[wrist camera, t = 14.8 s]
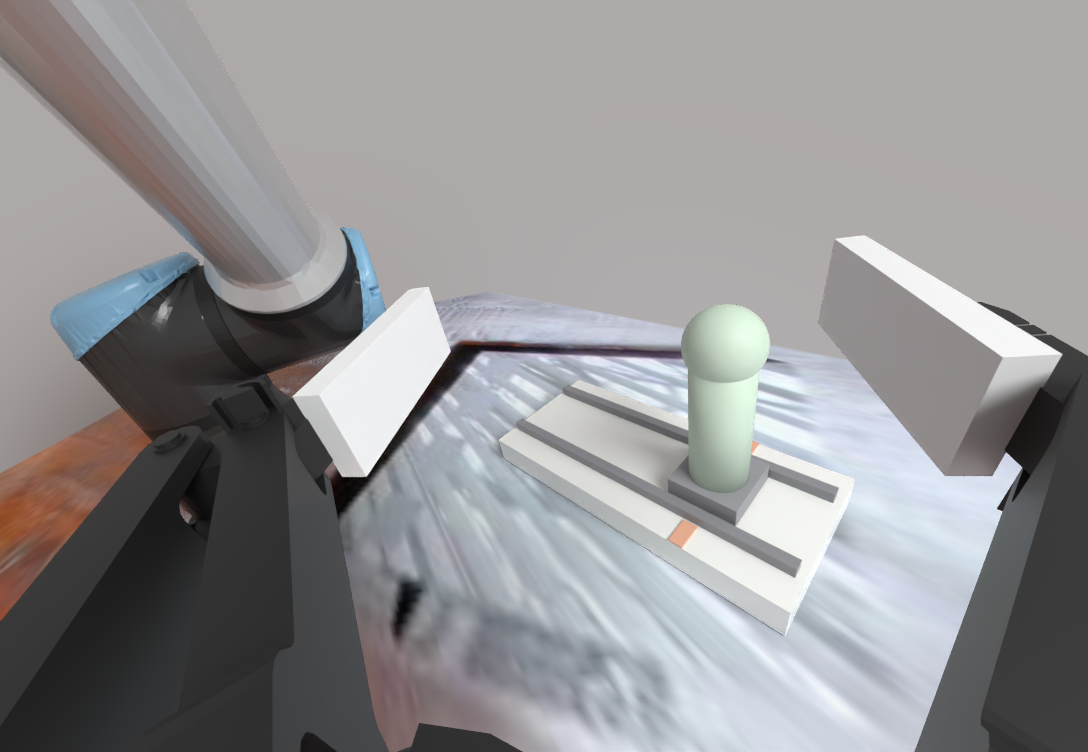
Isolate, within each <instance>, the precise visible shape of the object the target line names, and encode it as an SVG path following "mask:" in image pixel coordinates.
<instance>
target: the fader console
mask: <svg viewBox="0 0 1088 752" xmlns="http://www.w3.org/2000/svg"><path fill="white" fill-rule="evenodd" d="M563 391H564V392H562V393H561V394H560V395H558V396H557V397H556V398H554V399H553V400H552V401H550V402H549V403H547V404H546V405H545V406H543V407H542V408H541V409H539V410H538V411H537V412H535V413H534V414H533V415H531V416H530V417H529V418H527V419H526V420H524V419H521V420H520V421H519V422H517V427H515V428H514V429H513V430H511V431H510V432H508V433H507V434H506V435H504V436H503V437H502V438H500V439H499V443H500V446H501V450H502V453H503V456H504V459H506V460H507V461H509V462H510V463H512V464H513V465H515V466H517V467H518V468H520V469H521V470H523V471H524V472H526V473H528V474H529V475H531V476H532V477H534V478H536V479H537V480H539V481H540V482H542V483H543V484H545V485H547V486H548V487H550V488H551V489H553V490H555V491H556V492H558V493H559V494H561V495H562V496H564V497H566V498H567V499H569V500H570V501H572V502H573V503H575V504H577V505H578V506H580V507H581V508H583V509H585V510H586V511H588V512H589V513H591V514H592V515H594V516H596V517H597V518H599V519H600V520H602V521H604V522H605V523H607V524H608V525H610V526H611V527H613V528H615V529H616V530H618V531H619V532H621V533H622V534H624V535H626V536H627V537H629V538H630V539H632V540H634V541H635V542H637V543H638V544H640V545H641V546H643V547H645V548H646V549H648V550H649V551H651V552H653V553H654V554H656V555H657V556H659V557H660V558H662V559H664V560H665V561H667V562H668V563H670V564H671V565H673V566H675V567H676V568H678V569H679V570H681V571H683V572H684V573H686V574H687V575H689V576H690V577H692V578H694V579H695V580H697V581H698V582H700V583H701V584H703V585H705V586H706V587H708V588H709V589H711V590H713V591H714V592H716V593H717V594H719V595H720V596H722V597H724V598H725V599H727V600H728V601H730V602H732V603H733V604H735V605H736V606H738V607H739V608H741V609H743V610H744V611H746V612H747V613H749V614H750V615H752V616H754V617H755V618H757V619H758V620H760V621H762V622H763V623H765V624H766V625H768V626H769V627H771V628H773V629H774V630H776V631H777V632H779V633H781V634H782V635H784V636H785V635H786V633H787V631H788V629H789V627H790V624H791V622H792V620H793V618H794V616H795V614H796V612H797V610H798V608H799V606H800V604H801V601H802V599H803V597H804V595H805V593H806V591H807V589H808V587H809V585H810V583H811V581H812V578H813V576H814V574H815V572H816V570H817V568H818V566H819V564H820V562H821V560H822V557H823V555H824V553H825V551H826V549H827V547H828V545H829V543H830V541H831V539H832V537H833V534H834V532H835V530H836V528H837V526H838V524H839V522H840V520H841V518H842V516H843V514H844V511H845V509H846V507H847V505H848V503H849V499H850V496H851V492H852V489H853V485H854V482H855V479H853V478H850V477H847V476H845V475H842V474H839V473H836V472H834V471H831V470H828V469H825V468H822V467H820V466H817V465H814V464H811V463H808V462H806V461H803V460H800V459H797V458H795V457H792V456H789V455H786V454H783V453H781V452H778V451H775V450H772V449H769V448H767V447H764V446H761V445H759V443H757V442H754V441H752V450H751V457H752V458H755V459H757V460H760V461H762V462H765V463H768V464H769V471H768V479H767V481H766V482H765V484H764V485H763V487H762V488H761V490H760V491H759V492H758V494H757V495H756V497H755V498H754V500H753V501H752V503H751V504H750V506H749V507H748V509H747V510H746V512H745V513H744V515H743V516H742V518H741V519H740V521H739V522H738V524H737V525H736V526H734V525H732V524H730V523H728V522H726V521H724V520H722V519H720V518H718V517H716V516H714V515H712V514H710V513H708V512H706V511H704V510H702V509H700V508H698V507H696V506H694V505H692V504H690V503H688V502H686V501H684V500H682V499H680V498H678V497H676V496H674V495H672V494H670V493H668V478H669V477H670V475H671V474H672V473H673V472H674V471H675V470H676V469H677V468H678V466H679V465H680V464H681V463H682V462H683V461H684V460H685V458H686V457H687V456H688V455H689V445H688V419H686V418H683V417H680V416H678V415H675V414H672V413H669V412H666V411H664V410H661V409H658V408H655V407H653V406H650V405H647V404H644V403H641V402H639V401H636V400H633V399H630V398H627V397H625V396H622V395H619V394H616V393H614V392H611V391H608V390H605V389H602V388H600V387H597V386H594V385H591V384H588V383H586V382H583V381H580V380H578V381H577V382H576V383H574V384H573V385H572V386H569V385H567V386H566V387H565V388H563Z"/></svg>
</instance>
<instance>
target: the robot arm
mask: <svg viewBox="0 0 1088 752" xmlns="http://www.w3.org/2000/svg"><path fill="white" fill-rule="evenodd" d="M0 66H1V67H2V68H3V69H4V70H5V71H6V72H7V73H8V74H9V75H10V76H11V77H13V78H14V79H15V80H16V81H17V82H18V83H19V84H20V85H21V86H22V87H23V88H24V89H25V90H26V91H28V92H29V93H30V94H31V95H32V96H33V97H34V98H35V99H36V100H37V101H38V102H40V104H42V106H44V107H45V108H46V109H47V110H48V111H49V112H50V113H51V114H52V115H53V116H54V117H55V118H56V119H57V120H58V121H60V122H61V123H62V124H63V125H64V126H65V127H66V128H67V129H68V130H69V131H70V132H71V133H72V134H74V135H75V136H76V137H77V138H78V139H79V140H80V141H81V142H82V143H83V144H84V145H85V146H86V147H87V148H89V149H90V150H91V151H92V152H93V153H94V154H95V155H96V156H97V157H98V158H99V159H100V160H101V161H102V162H103V163H104V164H106V165H107V166H108V167H109V168H110V169H111V170H112V171H113V172H114V173H115V174H116V175H117V176H118V177H119V178H121V179H122V180H123V181H124V182H125V183H126V184H127V185H128V186H129V187H130V188H131V189H132V190H133V191H134V192H135V193H137V194H138V195H139V196H140V197H141V198H142V199H143V200H144V201H145V202H146V203H147V204H148V205H149V206H151V207H152V208H153V209H154V210H155V211H156V212H157V213H158V214H159V215H160V216H161V217H162V218H163V219H164V220H165V221H166V222H168V223H169V224H170V225H171V226H172V227H173V228H174V229H175V230H176V231H177V232H178V233H179V234H180V235H181V236H183V237H184V238H185V239H186V240H187V241H188V242H189V243H190V244H191V245H192V246H193V247H194V248H196V250H198V251H199V252H200V253H201V254H202V255H203V256H204V265H203V266H200V265H199V261H198V259H196V258H194V257H193V256H192V255H191V254H189V253H187V252H182V253H179V254H176V255H174V256H170V257H167V258H164V259H162V260H159V261H156V262H154V263H151V264H149V265H146V266H143V267H141V268H138V269H136V270H133V271H131V272H129V273H126V274H124V275H121V276H119V277H116V278H114V279H111V280H109V281H107V282H104V283H102V284H100V285H97V286H95V287H93V288H90V289H88V290H86V291H83V292H81V293H79V294H76V295H74V296H72V297H70V298H68V299H66V300H64V301H62V302H60V303H59V304H57V305H56V306H55V307H54V309H53V310H52V312H51V315H50V320H51V324H52V326H53V327H54V329H55V330H56V331H57V333H58V334H59V336H60V337H61V338H62V340H63V341H64V342H65V344H66V345H67V346H68V348H69V349H70V351H71V352H72V353H73V357H74V358H75V360H77V361H80V362H81V363H82V364H83V365H84V366H85V367H86V369H87V370H88V371H89V372H90V373H91V374H92V375H93V376H94V377H95V378H96V380H97V381H98V382H99V383H100V384H101V385H102V386H103V387H104V388H105V389H106V391H107V392H108V393H109V394H110V395H111V396H112V397H113V398H114V399H115V400H116V402H117V403H118V404H119V405H120V406H121V407H122V408H123V409H124V410H125V412H126V413H127V414H128V415H129V416H130V417H131V418H132V419H133V420H134V421H135V423H136V424H137V425H138V426H139V427H140V428H141V429H142V430H143V431H144V432H145V433H146V435H147V436H148V437H149V438H150V439H151V440H152V443H150V444H149V445H148V446H147V447H146V448H145V449H144V450H142V451H141V452H140V454H139V455H138V456H137V457H136V459H135V460H134V461H133V462H132V463H131V465H130V466H129V467H128V468H127V469H126V471H125V472H124V473H123V474H122V475H121V477H120V478H119V479H118V480H117V481H116V483H115V484H114V485H113V486H112V487H111V489H110V490H109V491H108V492H107V494H106V495H105V496H104V497H103V498H102V500H101V501H100V502H99V503H98V504H97V506H96V507H95V508H94V509H93V510H92V512H91V513H90V514H89V515H88V516H87V518H86V519H85V520H84V521H83V523H82V524H81V525H80V526H79V527H78V529H77V530H76V531H75V532H74V533H73V535H72V536H71V537H70V538H69V539H68V541H67V542H66V543H65V544H64V545H63V547H62V548H61V549H60V550H59V552H58V553H57V554H56V555H55V556H54V558H53V559H52V560H51V561H50V562H49V564H48V565H47V566H46V567H45V568H44V570H43V571H42V572H41V573H40V574H39V576H38V577H37V578H36V579H35V580H34V582H33V583H32V584H31V585H30V587H29V588H28V589H27V590H26V591H25V593H24V594H23V595H22V596H21V597H20V599H19V600H18V601H17V602H16V603H15V605H14V606H13V607H12V608H11V609H10V611H9V612H8V613H7V614H6V616H5V617H4V618H3V619H2V620H1V622H0V752H389V751H388V748H387V746H386V744H385V742H384V740H383V738H382V736H381V734H380V732H379V730H378V727H377V724H376V721H375V717H374V713H373V708H372V702H371V697H370V692H369V686H368V681H367V675H366V670H365V665H364V659H363V654H362V648H361V643H360V638H359V632H358V627H357V621H356V616H355V610H354V605H353V600H352V594H351V589H350V583H349V578H348V573H347V567H346V562H345V556H344V551H343V545H342V540H341V535H340V529H339V524H338V518H337V513H336V508H335V502H334V497H333V491H332V486H331V481H330V479H329V478H328V476H327V475H326V473H325V472H324V471H325V470H326V468H327V467H328V466H329V465H330V463H331V462H332V461H333V463H334V464H335V466H336V467H337V469H338V471H339V472H340V474H341V475H342V477H367V475H368V474H369V472H370V471H371V469H372V468H373V466H374V465H375V463H376V462H377V460H378V459H379V458H380V456H381V455H382V453H383V452H384V450H385V449H386V447H387V446H388V444H389V443H390V441H391V440H392V438H393V437H394V435H395V434H396V432H397V431H398V429H399V428H400V426H401V425H402V423H403V422H404V420H405V419H406V417H407V416H408V414H409V413H410V411H411V410H412V408H413V407H414V405H415V404H416V402H417V401H418V399H419V398H420V397H421V395H422V394H423V392H424V391H425V389H426V388H427V386H428V385H429V383H430V382H431V380H432V379H433V377H434V376H435V374H436V373H437V371H438V370H439V368H440V367H441V365H442V364H443V362H444V361H445V359H446V358H447V356H448V355H449V353H450V352H451V351H450V348H449V345H448V342H447V339H446V337H445V334H444V331H443V328H442V325H441V322H440V319H439V316H438V313H437V310H436V308H435V305H434V302H433V299H432V296H431V293H430V290H429V287H424V288H415V289H409V290H408V291H407V292H406V293H405V294H404V295H403V296H402V297H401V298H400V299H398V300H397V301H396V302H395V303H394V304H393V305H392V306H391V307H390V308H389V309H387V310H386V309H385V305H384V301H383V298H382V295H381V292H380V290H379V285H378V282H377V278H376V275H375V271H374V268H373V265H372V262H371V259H370V256H369V253H368V250H367V247H366V244H365V242H364V239H363V237H362V235H361V233H360V232H359V230H357V229H354V228H349V229H347V228H344V227H343V228H339V227H338V226H337V224H336V223H335V222H334V220H332V219H331V218H330V217H329V216H328V215H326V214H325V213H323V212H322V211H320V210H318V209H316V208H313V207H310V206H308V205H306V204H305V202H304V201H303V199H302V197H301V196H300V194H299V192H298V191H297V189H296V187H295V186H294V184H293V182H292V180H291V179H290V177H289V175H288V174H287V172H286V170H285V168H284V167H283V165H282V164H281V162H280V160H279V158H278V157H277V155H276V154H275V152H274V150H273V149H272V147H271V145H270V143H269V141H268V140H267V138H266V136H265V135H264V133H263V131H262V129H261V128H260V126H259V125H258V123H257V121H256V119H255V118H254V116H253V115H252V112H251V111H250V109H249V107H248V106H247V104H246V102H245V101H244V99H243V97H242V96H241V94H240V92H239V90H238V89H237V87H236V85H235V84H234V82H233V80H232V79H231V77H230V75H229V74H228V72H227V70H226V68H225V67H224V65H223V63H222V62H221V60H220V58H219V56H218V55H217V53H216V52H215V50H214V48H213V46H212V45H211V43H210V41H209V40H208V38H207V36H206V35H205V33H204V31H203V29H202V28H201V26H200V24H199V23H198V21H197V19H196V17H195V16H194V14H193V12H192V11H191V9H190V7H189V6H188V4H187V2H186V1H185V0H0ZM818 324H819V325H820V326H821V327H822V329H823V330H824V331H825V332H826V333H827V335H828V336H829V337H830V338H831V339H832V341H833V342H834V343H835V344H836V345H837V347H838V348H839V349H840V350H841V351H842V353H843V354H844V355H845V356H846V357H847V359H848V360H849V361H850V362H851V364H852V365H853V366H854V367H855V368H856V370H857V371H858V372H859V373H860V374H861V376H862V377H863V378H864V379H865V380H866V382H867V383H868V384H869V385H870V386H871V388H872V389H873V390H874V391H875V392H876V394H877V395H878V396H879V397H880V398H881V400H882V401H883V402H884V403H885V404H886V406H887V407H888V408H889V409H890V410H891V412H892V413H893V414H894V415H895V416H896V418H897V419H898V420H899V421H900V423H901V424H902V425H903V426H904V427H905V429H906V430H907V431H908V432H909V433H910V435H911V436H912V437H913V438H914V439H915V441H916V442H917V443H918V444H919V445H920V447H921V448H922V449H923V450H924V451H925V453H926V454H927V455H928V456H929V457H930V459H931V460H932V461H933V462H934V463H935V465H936V466H937V467H938V468H939V469H940V471H941V472H942V473H943V474H944V475H945V476H992V475H993V474H994V472H995V470H996V468H997V467H998V465H999V463H1000V462H1001V460H1002V458H1003V456H1004V455H1005V453H1006V452H1007V453H1008V454H1009V455H1010V456H1011V457H1012V458H1013V459H1014V460H1015V461H1016V462H1017V463H1018V464H1019V465H1020V466H1022V467H1023V468H1022V469H1021V471H1020V473H1019V474H1018V476H1017V477H1016V479H1015V481H1014V482H1013V484H1012V485H1011V487H1010V489H1009V490H1008V492H1007V493H1006V495H1005V497H1004V498H1003V500H1002V501H1001V503H1000V505H999V506H998V508H997V509H998V510H1001V511H1003V512H1002V515H1001V518H1000V521H999V523H998V526H997V529H996V531H995V534H994V537H993V540H992V542H991V545H990V548H989V551H988V553H987V556H986V559H985V561H984V564H983V567H982V570H981V572H980V575H979V578H978V581H977V583H976V586H975V589H974V591H973V594H972V597H971V600H970V602H969V605H968V608H967V610H966V613H965V616H964V619H963V621H962V624H961V627H960V630H959V632H958V635H957V638H956V640H955V643H954V646H953V649H952V651H951V654H950V657H949V660H948V662H947V665H946V668H945V670H944V673H943V676H942V679H941V681H940V684H939V687H938V689H937V692H936V695H935V698H934V700H933V703H932V706H931V709H930V711H929V714H928V717H927V719H926V722H925V725H924V728H923V730H922V733H921V736H920V739H919V741H918V744H917V747H916V749H915V752H1088V356H1087V355H1085V354H1083V353H1082V352H1080V351H1078V350H1076V349H1075V348H1073V347H1071V346H1069V345H1068V344H1066V343H1064V342H1062V341H1061V340H1059V339H1057V338H1056V337H1054V336H1052V335H1046V332H1045V331H1043V330H1041V329H1040V328H1038V327H1036V326H1035V325H1029V322H1028V321H1026V320H1024V319H1022V318H1021V317H1019V316H1017V315H1015V314H1014V313H1012V312H1010V311H1008V310H1004V309H1001V308H998V307H995V306H992V305H988V304H985V303H982V302H974V301H973V300H972V299H970V298H968V297H966V296H965V295H963V294H961V293H960V292H958V291H957V290H955V289H953V288H951V287H950V286H948V285H947V284H945V283H943V282H941V281H940V280H938V279H936V278H935V277H933V276H932V275H930V274H928V273H927V272H925V271H923V270H922V269H920V268H918V267H916V266H915V265H913V264H912V263H910V262H908V261H907V260H905V259H903V258H902V257H900V256H898V255H897V254H895V253H893V252H892V251H890V250H888V249H886V248H885V247H883V246H882V245H880V244H878V243H877V242H875V241H873V240H871V239H870V238H868V237H867V236H865V235H864V236H855V237H847V238H839V239H835V240H834V245H833V250H832V255H831V261H830V265H829V270H828V275H827V280H826V286H825V290H824V295H823V301H822V305H821V311H820V315H819V320H818ZM343 349H344V350H343ZM339 350H343V351H342V352H340V353H339V354H338V355H337V356H336V357H335V358H334V359H333V360H332V361H331V362H330V363H328V364H327V365H326V366H325V367H324V368H323V369H322V370H321V371H320V372H319V373H318V374H316V375H315V376H314V377H313V378H312V379H311V380H310V381H309V382H308V383H307V384H306V385H304V386H303V387H302V388H301V389H300V390H299V391H298V392H297V393H296V394H295V395H293V396H292V398H289V397H288V396H287V395H286V394H284V393H283V392H282V391H280V390H279V389H278V388H277V387H276V386H275V385H274V384H273V382H272V381H271V380H270V378H269V376H268V375H267V373H270V372H273V371H276V370H280V369H283V368H286V367H289V366H292V365H295V364H298V363H301V362H305V361H308V360H311V359H314V358H317V357H320V356H323V355H327V354H330V353H333V352H336V351H339ZM179 504H180V505H181V506H182V507H183V508H184V509H185V510H186V511H187V512H188V513H190V514H191V515H192V518H191V519H190V521H189V523H188V524H187V523H186V522H185V521H184V519H183V517H182V516H181V514H180V509H179ZM177 707H178V708H177ZM176 710H177V711H176ZM398 752H522V751H520V750H518V749H517V748H515V747H513V746H511V745H509V744H508V743H506V742H504V741H502V740H500V739H498V738H497V737H495V736H493V735H491V734H488V733H482V732H475V731H468V730H462V729H455V728H449V727H442V726H435V725H429V724H422V723H419V726H418V729H417V732H416V735H415V738H414V741H413V744H412V747H409V748H406V749H403V750H400V751H398Z"/></svg>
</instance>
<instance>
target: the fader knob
mask: <svg viewBox="0 0 1088 752" xmlns="http://www.w3.org/2000/svg"><path fill="white" fill-rule="evenodd" d="M769 350H770V338H769V334H768V331H767V328H766V326H765V324H764V323H763V321H762V320H761V319H760V318H759V317H758V316H757V315H756V314H755V313H753V312H752V311H750V310H748V309H746V308H744V307H742V306H738V305H732V304H721V305H716V306H712V307H709V308H707V309H705V310H703V311H701V312H700V313H698V314H697V315H696V316H695V317H694V318H693V319H692V320H691V321H690V322H689V323H688V325H687V327H686V328H685V331H684V333H683V336H682V341H681V352H682V356H683V359H684V362H685V364H686V366H687V367H688V445H689V455H688V456H687V457H686V458H685V460H684V461H683V462H682V463H681V464H680V465H679V466H678V468H677V469H676V470H675V471H674V472H673V473H672V474H671V475H670V477H669V478H668V493H670V494H672V495H674V496H676V497H678V498H680V499H682V500H684V501H686V502H688V503H690V504H692V505H694V506H696V507H698V508H700V509H702V510H704V511H706V512H708V513H710V514H712V515H714V516H716V517H718V518H720V519H722V520H724V521H726V522H728V523H730V524H732V525H734V526H736V525H737V524H738V522H739V521H740V519H741V518H742V516H743V515H744V513H745V512H746V510H747V509H748V507H749V506H750V504H751V503H752V501H753V500H754V498H755V497H756V495H757V494H758V492H759V491H760V490H761V488H762V487H763V485H764V484H765V482H766V481H767V479H768V471H769V464H768V463H765V462H762V461H760V460H757V459H755V458H752V457H751V450H752V440H753V430H754V420H755V410H756V400H757V390H758V380H759V370H760V369H761V368H762V367H763V365H764V364H765V362H766V360H767V357H768V354H769Z"/></svg>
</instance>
